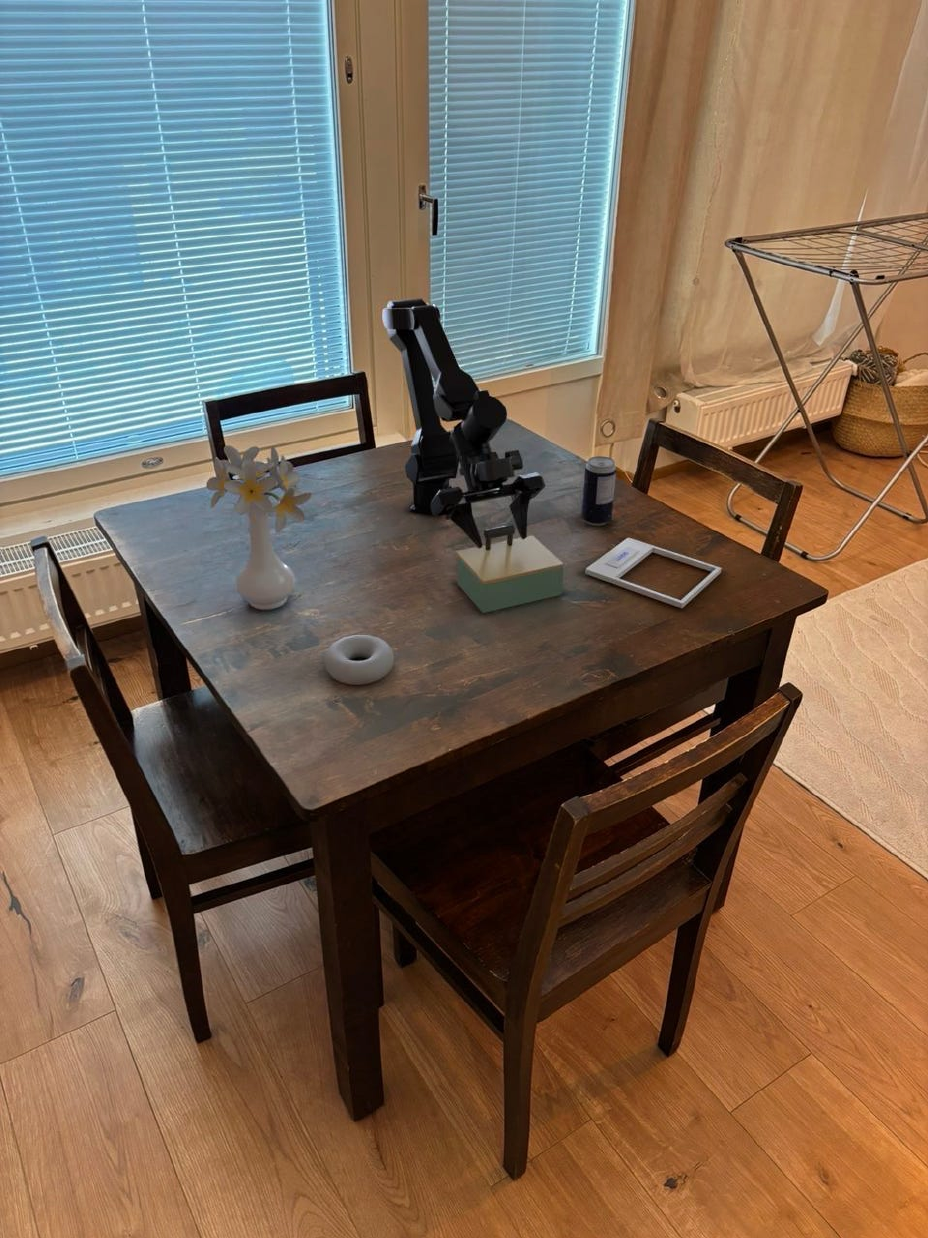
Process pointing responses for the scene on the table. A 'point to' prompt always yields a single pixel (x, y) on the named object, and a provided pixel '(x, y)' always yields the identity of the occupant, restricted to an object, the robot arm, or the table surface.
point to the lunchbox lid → (507, 556)
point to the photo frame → (631, 555)
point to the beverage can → (598, 490)
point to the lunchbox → (509, 588)
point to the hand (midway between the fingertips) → (502, 543)
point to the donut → (359, 671)
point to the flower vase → (261, 519)
